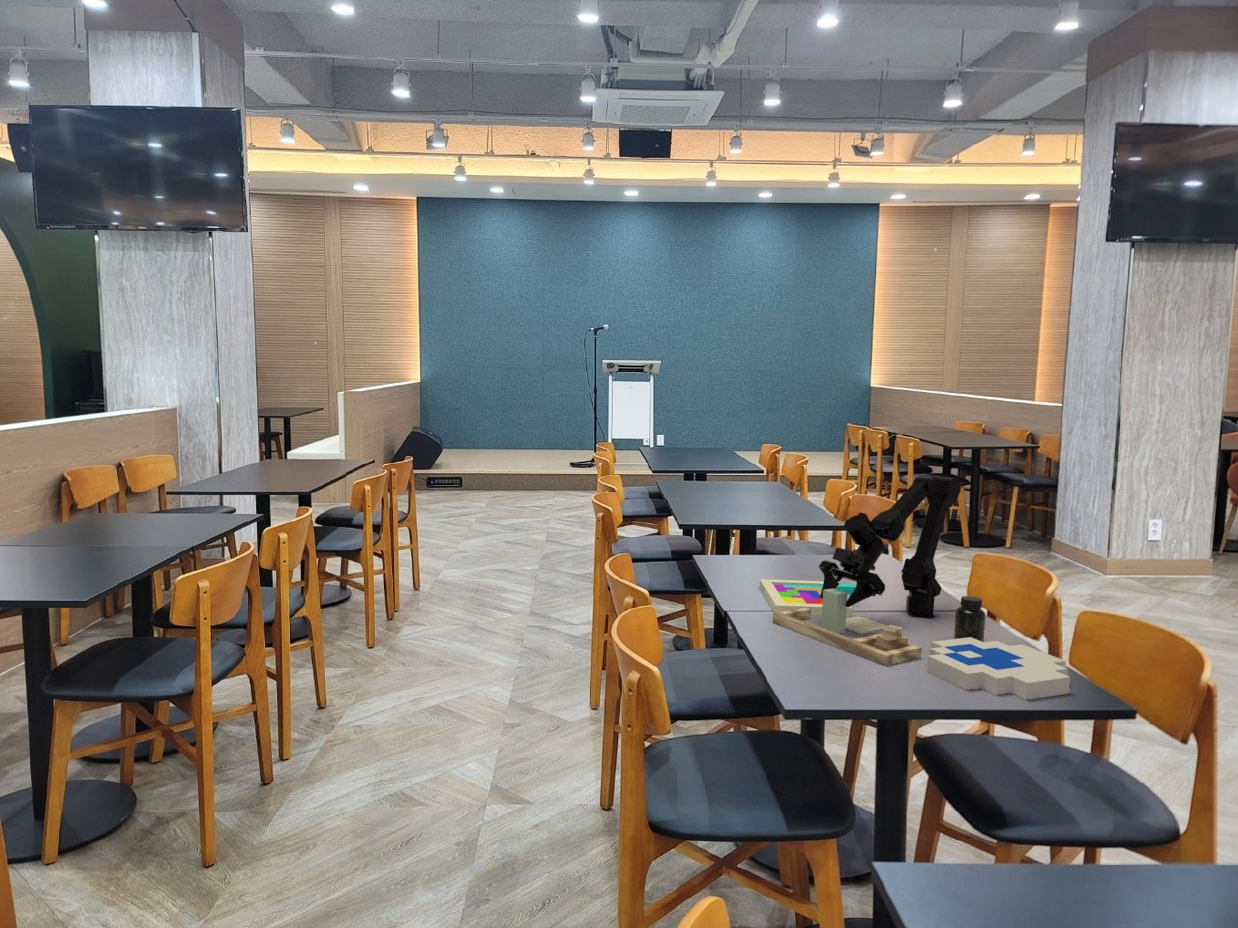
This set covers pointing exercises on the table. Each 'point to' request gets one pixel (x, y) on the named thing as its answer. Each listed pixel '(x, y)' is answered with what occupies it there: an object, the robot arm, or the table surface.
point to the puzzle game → (799, 595)
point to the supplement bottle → (970, 619)
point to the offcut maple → (892, 632)
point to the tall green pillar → (834, 610)
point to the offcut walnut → (886, 648)
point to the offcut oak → (892, 642)
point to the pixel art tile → (998, 668)
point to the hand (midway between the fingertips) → (833, 602)
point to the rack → (845, 639)
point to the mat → (863, 625)
